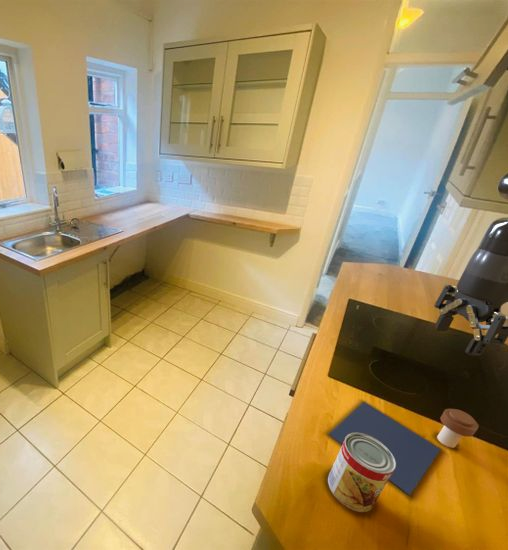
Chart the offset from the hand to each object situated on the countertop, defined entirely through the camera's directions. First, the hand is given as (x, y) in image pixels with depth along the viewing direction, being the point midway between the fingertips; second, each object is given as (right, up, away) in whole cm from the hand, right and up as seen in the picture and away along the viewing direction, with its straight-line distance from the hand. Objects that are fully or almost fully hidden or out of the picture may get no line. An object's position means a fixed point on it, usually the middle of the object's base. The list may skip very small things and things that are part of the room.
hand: (454, 341), depth 65 cm
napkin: (-11, -25, +6) cm, 28 cm away
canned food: (-25, -29, -4) cm, 39 cm away
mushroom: (+4, -25, +6) cm, 26 cm away
